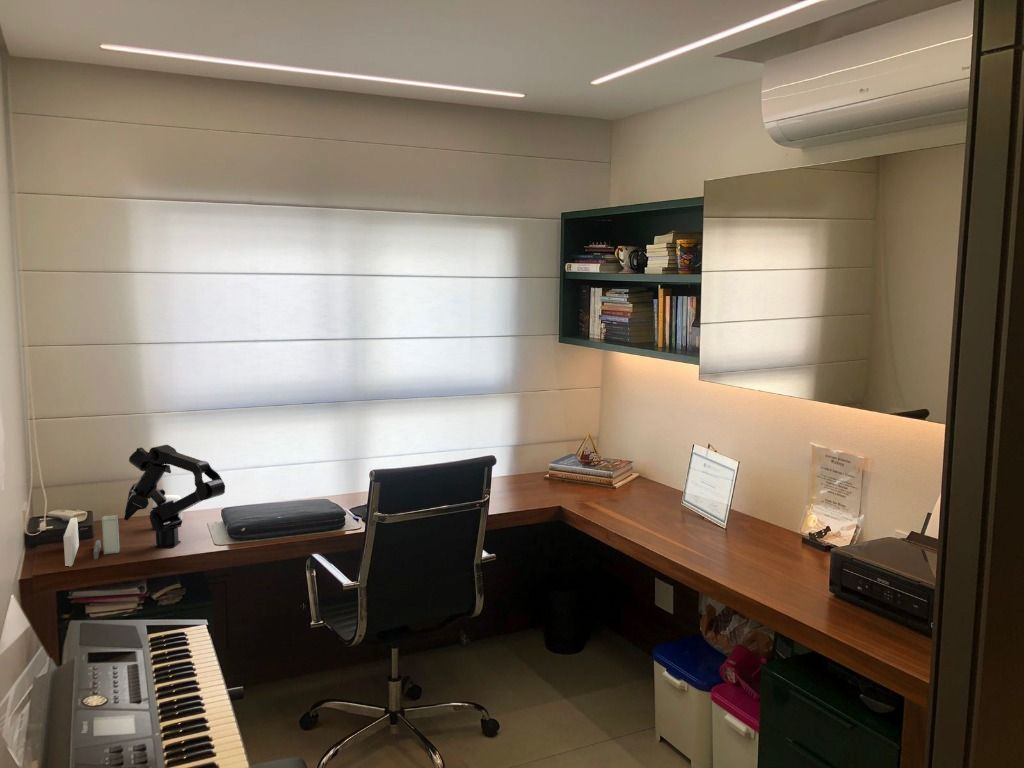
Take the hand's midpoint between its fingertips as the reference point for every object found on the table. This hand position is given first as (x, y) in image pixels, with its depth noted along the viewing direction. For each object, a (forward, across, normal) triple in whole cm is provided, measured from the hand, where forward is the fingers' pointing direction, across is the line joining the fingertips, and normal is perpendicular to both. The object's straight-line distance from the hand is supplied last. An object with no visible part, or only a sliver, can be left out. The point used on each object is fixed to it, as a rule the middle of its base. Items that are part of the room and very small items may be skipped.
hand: (125, 516), depth 288 cm
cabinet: (+12, -3, -2) cm, 12 cm away
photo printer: (+2, +21, -18) cm, 27 cm away
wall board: (+16, -3, +5) cm, 17 cm away
